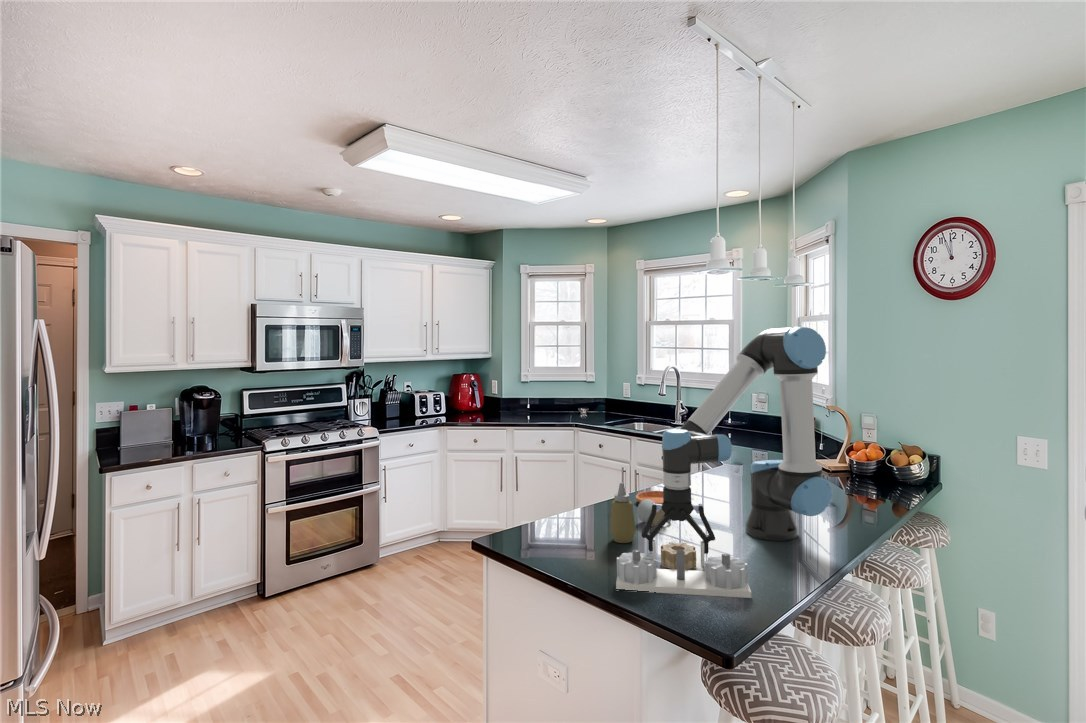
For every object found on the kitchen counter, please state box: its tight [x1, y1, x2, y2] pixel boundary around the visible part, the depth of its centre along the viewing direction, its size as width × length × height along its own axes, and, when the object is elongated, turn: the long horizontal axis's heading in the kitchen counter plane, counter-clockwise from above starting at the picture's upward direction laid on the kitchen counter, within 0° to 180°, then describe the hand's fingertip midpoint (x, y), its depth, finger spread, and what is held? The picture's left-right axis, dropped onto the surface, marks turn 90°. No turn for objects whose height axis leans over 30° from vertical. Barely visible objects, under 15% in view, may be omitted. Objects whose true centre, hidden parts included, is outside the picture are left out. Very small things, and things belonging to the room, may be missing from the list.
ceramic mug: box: [636, 499, 672, 528], centre depth 189 cm, size 11×8×8 cm
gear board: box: [615, 549, 752, 599], centre depth 141 cm, size 32×11×9 cm, turn 79°
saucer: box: [635, 490, 663, 504], centre depth 213 cm, size 16×16×3 cm
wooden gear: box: [660, 541, 697, 570], centre depth 154 cm, size 9×9×4 cm
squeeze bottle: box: [609, 482, 637, 544], centre depth 173 cm, size 8×8×18 cm
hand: (678, 563), depth 154 cm, fingers open, 12 cm apart
